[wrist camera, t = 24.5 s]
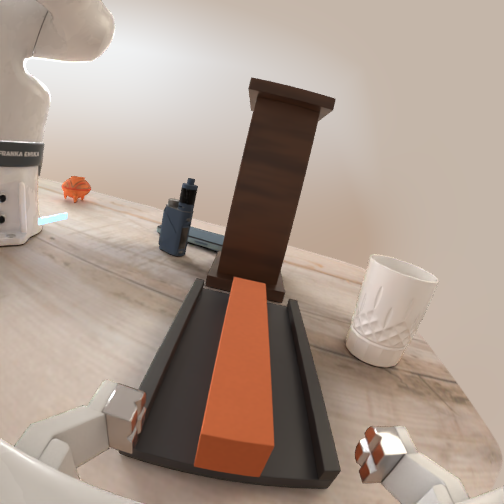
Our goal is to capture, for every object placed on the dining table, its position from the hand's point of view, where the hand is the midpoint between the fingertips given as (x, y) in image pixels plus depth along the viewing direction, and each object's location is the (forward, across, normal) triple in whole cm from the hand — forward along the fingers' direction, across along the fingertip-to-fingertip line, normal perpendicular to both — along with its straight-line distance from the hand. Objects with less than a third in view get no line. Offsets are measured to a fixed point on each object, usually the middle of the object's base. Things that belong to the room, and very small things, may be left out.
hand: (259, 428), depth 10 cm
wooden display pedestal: (+35, 0, +7) cm, 36 cm away
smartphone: (+50, +10, +7) cm, 52 cm away
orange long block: (+13, 0, +6) cm, 14 cm away
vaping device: (+40, +12, +7) cm, 42 cm away
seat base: (+14, 0, +7) cm, 16 cm away
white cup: (+20, -15, +7) cm, 26 cm away
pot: (+62, +45, +7) cm, 77 cm away
